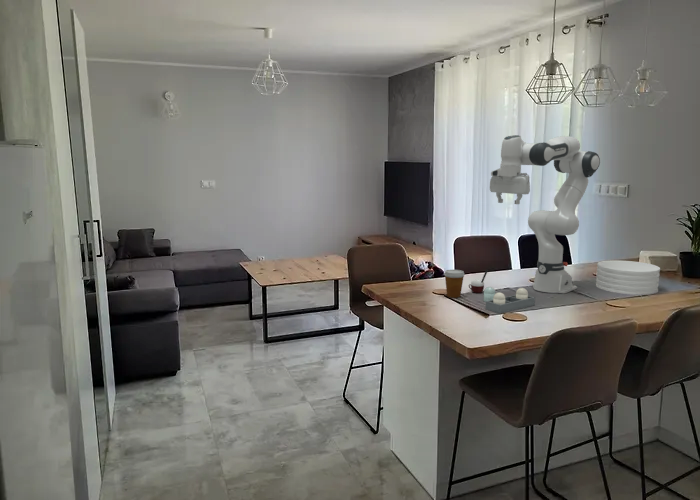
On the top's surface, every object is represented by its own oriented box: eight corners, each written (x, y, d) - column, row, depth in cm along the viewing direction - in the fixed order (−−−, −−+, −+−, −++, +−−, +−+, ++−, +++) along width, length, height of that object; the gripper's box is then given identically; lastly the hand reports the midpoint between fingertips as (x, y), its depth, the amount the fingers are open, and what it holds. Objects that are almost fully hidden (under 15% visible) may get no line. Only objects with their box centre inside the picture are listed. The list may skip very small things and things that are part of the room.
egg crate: (519, 303, 243) (520, 293, 242) (534, 307, 237) (534, 297, 236) (485, 311, 231) (485, 301, 230) (499, 315, 225) (500, 305, 224)
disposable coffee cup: (448, 299, 250) (449, 274, 248) (440, 294, 260) (440, 270, 257) (467, 297, 253) (468, 272, 251) (458, 293, 262) (459, 268, 260)
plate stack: (643, 282, 284) (645, 260, 282) (668, 295, 257) (671, 272, 255) (588, 281, 287) (589, 259, 285) (607, 294, 260) (609, 271, 258)
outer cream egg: (498, 307, 233) (499, 290, 232) (507, 310, 229) (508, 293, 228) (490, 309, 231) (491, 292, 229) (499, 312, 226) (500, 294, 225)
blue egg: (488, 301, 247) (489, 285, 246) (497, 303, 243) (497, 287, 242) (481, 302, 245) (481, 286, 243) (489, 305, 240) (490, 288, 239)
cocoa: (466, 291, 266) (466, 268, 264) (476, 289, 269) (475, 266, 267) (480, 295, 258) (479, 270, 256) (490, 293, 261) (489, 268, 259)
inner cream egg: (520, 302, 241) (521, 286, 240) (529, 305, 237) (530, 288, 236) (512, 304, 238) (513, 287, 237) (522, 306, 234) (523, 290, 233)
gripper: (534, 173, 234) (532, 204, 236) (497, 171, 250) (496, 201, 253) (524, 173, 230) (522, 205, 233) (488, 172, 247) (486, 202, 249)
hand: (508, 203), depth 243 cm, fingers open, 8 cm apart
